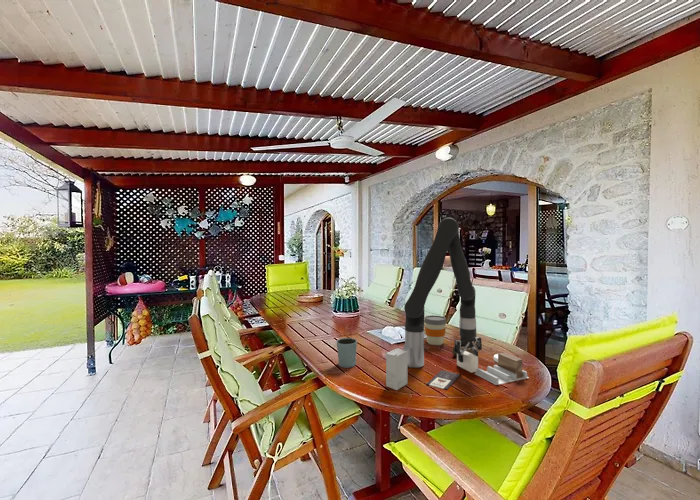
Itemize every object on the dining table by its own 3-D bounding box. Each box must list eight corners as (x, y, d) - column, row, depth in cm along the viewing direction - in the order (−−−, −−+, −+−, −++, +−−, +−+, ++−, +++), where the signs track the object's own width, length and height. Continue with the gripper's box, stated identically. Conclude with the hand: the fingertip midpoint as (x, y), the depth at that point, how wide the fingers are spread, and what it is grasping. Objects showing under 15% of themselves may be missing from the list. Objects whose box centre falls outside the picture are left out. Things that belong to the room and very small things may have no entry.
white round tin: (518, 363, 174) (518, 356, 174) (511, 369, 166) (511, 361, 166) (497, 358, 181) (497, 351, 180) (490, 364, 173) (490, 357, 173)
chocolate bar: (460, 374, 159) (446, 388, 144) (460, 376, 159) (446, 391, 144) (441, 370, 164) (426, 383, 149) (441, 371, 164) (426, 385, 150)
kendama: (482, 353, 189) (466, 362, 175) (465, 350, 196) (448, 358, 181) (482, 342, 189) (466, 350, 175) (465, 339, 196) (448, 347, 181)
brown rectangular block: (515, 378, 152) (515, 360, 152) (498, 370, 162) (498, 353, 161) (522, 377, 154) (522, 359, 153) (504, 369, 163) (504, 352, 163)
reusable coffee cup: (447, 346, 200) (447, 320, 199) (425, 345, 202) (425, 320, 201) (444, 340, 212) (444, 315, 212) (423, 339, 214) (423, 315, 214)
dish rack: (495, 387, 146) (495, 379, 146) (474, 375, 158) (474, 368, 158) (529, 379, 153) (529, 372, 153) (506, 369, 165) (506, 362, 165)
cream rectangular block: (471, 374, 160) (471, 357, 159) (456, 367, 169) (456, 351, 169) (478, 373, 161) (478, 356, 161) (463, 366, 170) (463, 349, 170)
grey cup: (360, 363, 175) (360, 339, 175) (350, 369, 167) (350, 345, 166) (343, 359, 181) (343, 336, 180) (332, 366, 172) (332, 342, 171)
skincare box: (396, 380, 154) (396, 347, 153) (408, 384, 150) (408, 350, 149) (385, 386, 148) (385, 352, 147) (397, 391, 144) (396, 355, 143)
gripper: (460, 330, 158) (461, 365, 159) (485, 326, 163) (485, 360, 164) (450, 326, 165) (451, 360, 166) (474, 323, 170) (474, 355, 171)
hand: (468, 360), depth 165 cm, fingers open, 8 cm apart
